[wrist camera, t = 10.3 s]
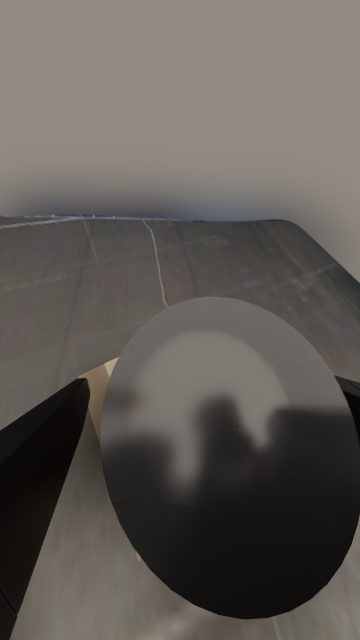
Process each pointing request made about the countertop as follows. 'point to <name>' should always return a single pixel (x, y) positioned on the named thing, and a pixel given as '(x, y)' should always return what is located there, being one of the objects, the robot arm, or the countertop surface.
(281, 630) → the countertop surface
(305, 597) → the steel peg
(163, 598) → the countertop surface
